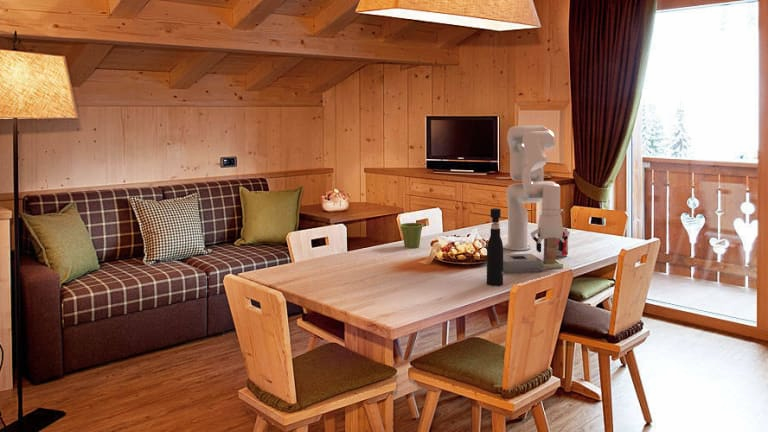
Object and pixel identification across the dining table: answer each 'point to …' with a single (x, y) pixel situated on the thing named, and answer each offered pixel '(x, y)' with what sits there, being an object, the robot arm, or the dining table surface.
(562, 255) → the soda can
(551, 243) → the walnut peg
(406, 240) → the plant pot
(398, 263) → the dining table surface
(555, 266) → the holder tray
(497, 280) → the wine bottle
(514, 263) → the block
